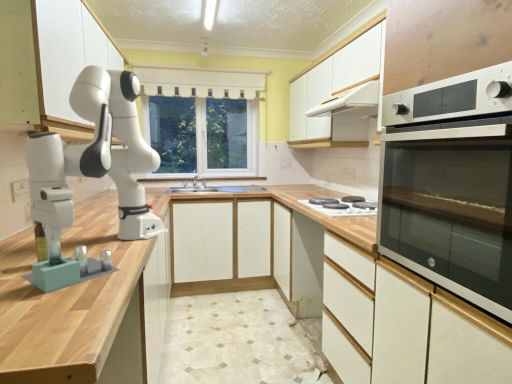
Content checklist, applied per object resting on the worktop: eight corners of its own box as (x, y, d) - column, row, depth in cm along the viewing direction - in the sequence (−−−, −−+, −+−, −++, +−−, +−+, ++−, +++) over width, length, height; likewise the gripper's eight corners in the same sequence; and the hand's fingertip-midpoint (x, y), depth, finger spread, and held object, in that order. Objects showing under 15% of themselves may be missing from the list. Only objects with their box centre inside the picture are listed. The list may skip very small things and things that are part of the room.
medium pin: (85, 272, 101) (83, 244, 99) (90, 275, 99) (88, 246, 97) (74, 276, 98) (72, 247, 97) (79, 278, 96) (76, 249, 95)
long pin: (47, 263, 92) (42, 215, 90) (59, 260, 94) (54, 213, 92) (51, 266, 90) (46, 216, 88) (63, 262, 92) (59, 215, 90)
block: (67, 274, 99) (65, 255, 98) (80, 281, 94) (79, 262, 93) (33, 284, 92) (31, 264, 91) (46, 292, 87) (43, 271, 86)
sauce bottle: (62, 265, 109) (57, 207, 106) (41, 270, 105) (35, 210, 102) (56, 260, 113) (51, 205, 111) (35, 265, 109) (29, 207, 106)
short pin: (108, 266, 105) (107, 249, 105) (113, 269, 103) (112, 250, 103) (99, 269, 103) (97, 251, 102) (104, 272, 101) (102, 253, 100)
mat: (90, 258, 115) (90, 257, 115) (120, 271, 103) (120, 269, 103) (21, 277, 99) (20, 275, 98) (47, 295, 86) (46, 293, 86)
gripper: (22, 189, 93) (26, 236, 95) (50, 195, 81) (55, 248, 82) (46, 187, 98) (50, 231, 100) (76, 192, 86) (81, 243, 87)
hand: (53, 239), depth 91 cm, fingers closed on long pin, 3 cm apart
